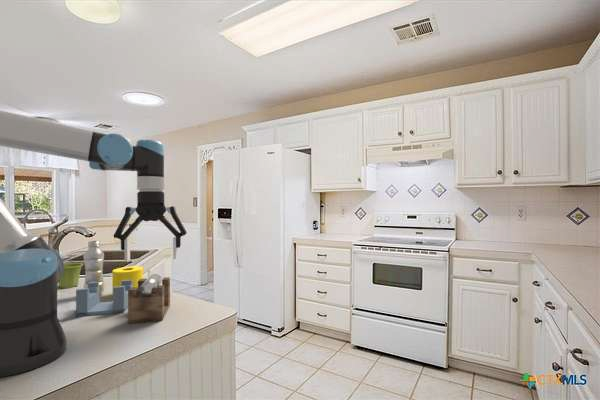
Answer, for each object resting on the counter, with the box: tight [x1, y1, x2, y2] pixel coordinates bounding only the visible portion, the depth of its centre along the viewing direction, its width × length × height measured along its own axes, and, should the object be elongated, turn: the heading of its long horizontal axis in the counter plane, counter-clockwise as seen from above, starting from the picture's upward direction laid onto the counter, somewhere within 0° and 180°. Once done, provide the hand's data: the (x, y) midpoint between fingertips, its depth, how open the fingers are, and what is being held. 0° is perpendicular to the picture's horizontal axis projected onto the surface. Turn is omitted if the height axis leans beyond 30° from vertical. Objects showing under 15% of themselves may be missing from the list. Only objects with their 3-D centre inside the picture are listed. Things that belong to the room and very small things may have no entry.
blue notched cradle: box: [75, 280, 132, 317], centre depth 97 cm, size 9×13×8 cm
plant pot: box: [58, 262, 84, 289], centre depth 124 cm, size 9×9×9 cm
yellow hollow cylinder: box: [112, 265, 144, 288], centre depth 113 cm, size 10×10×9 cm
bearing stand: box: [127, 276, 171, 325], centre depth 93 cm, size 9×13×10 cm
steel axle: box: [138, 273, 163, 297], centre depth 93 cm, size 12×4×4 cm, turn 14°
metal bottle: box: [82, 240, 105, 295], centre depth 112 cm, size 6×7×20 cm
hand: (151, 259), depth 93 cm, fingers open, 13 cm apart
